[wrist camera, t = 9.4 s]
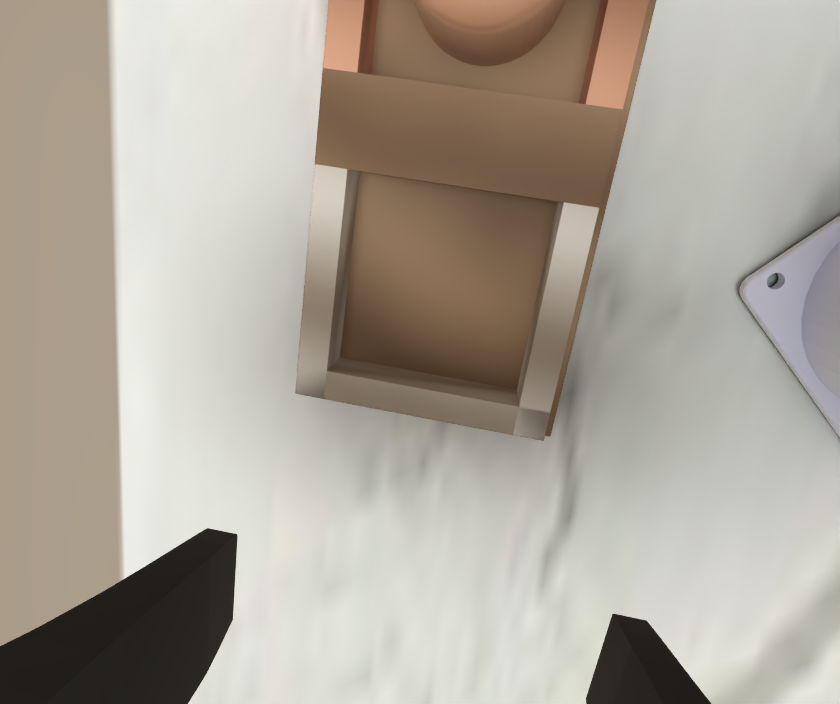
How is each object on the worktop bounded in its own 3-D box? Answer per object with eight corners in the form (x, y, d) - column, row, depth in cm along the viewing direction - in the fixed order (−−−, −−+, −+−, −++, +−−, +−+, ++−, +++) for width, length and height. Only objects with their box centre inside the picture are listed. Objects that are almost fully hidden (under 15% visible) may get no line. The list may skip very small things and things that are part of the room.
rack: (357, -221, 15) (333, -297, 13) (696, -190, 14) (735, -264, 12) (303, 381, 20) (280, 404, 18) (547, 427, 20) (555, 456, 17)
